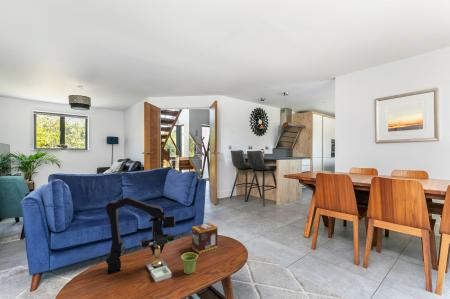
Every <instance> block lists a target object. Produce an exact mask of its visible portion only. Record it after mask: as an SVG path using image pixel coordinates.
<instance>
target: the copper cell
mask: <svg viewBox="0 0 450 299" xmlns="http://www.w3.org/2000/svg"><path fill="white" fill-rule="evenodd" d="M161 254H162V253H161V245H156V244H154V255H152V256H153V259H155V260H158V259H160V258H161Z"/></svg>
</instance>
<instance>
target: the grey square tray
mask: <svg viewBox="0 0 450 299" xmlns="http://www.w3.org/2000/svg"><path fill="white" fill-rule="evenodd" d="M160 260H161V261H162V265H161V266H159V267H153V266H152V262H153V261H151V262H148V263H147V262H146V264H145V266H146V268H147V269H148V272H149V273H150V274H151V270H154V269H157V268H160V267H164V266H167V268H168V269H169V265H168V264H167V262H166V261H165V260H164V259H160Z"/></svg>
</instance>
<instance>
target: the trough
mask: <svg viewBox="0 0 450 299" xmlns="http://www.w3.org/2000/svg"><path fill="white" fill-rule="evenodd" d="M159 267H160V268H158V267H156V268H157V269H154V270H151V273H150V276H151V277H152V279H153V280H154V282H155V283H157V282H160V281H163V280H167V279H170V278H172V272H171V270H170V269H169V267H168V268H167V266H164V267H161V266H159Z"/></svg>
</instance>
